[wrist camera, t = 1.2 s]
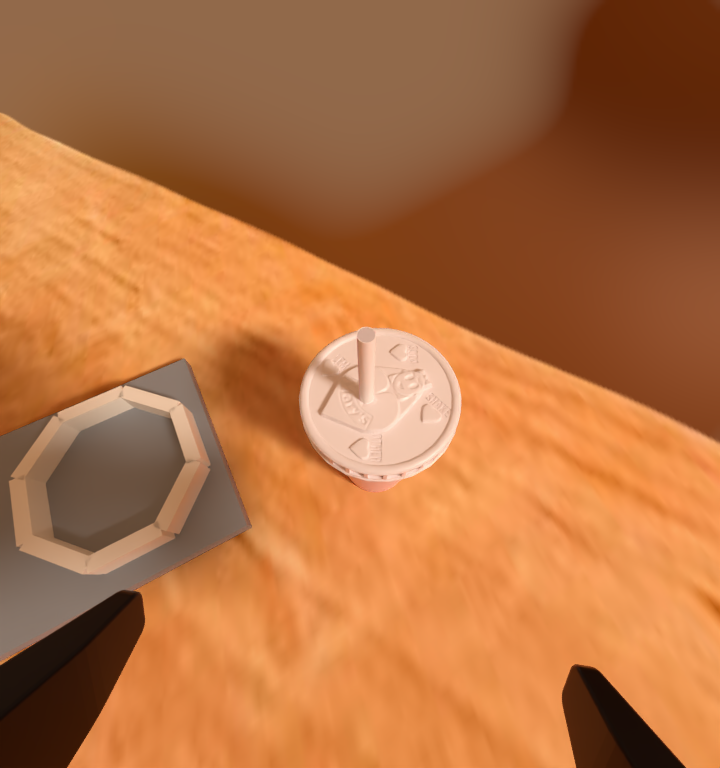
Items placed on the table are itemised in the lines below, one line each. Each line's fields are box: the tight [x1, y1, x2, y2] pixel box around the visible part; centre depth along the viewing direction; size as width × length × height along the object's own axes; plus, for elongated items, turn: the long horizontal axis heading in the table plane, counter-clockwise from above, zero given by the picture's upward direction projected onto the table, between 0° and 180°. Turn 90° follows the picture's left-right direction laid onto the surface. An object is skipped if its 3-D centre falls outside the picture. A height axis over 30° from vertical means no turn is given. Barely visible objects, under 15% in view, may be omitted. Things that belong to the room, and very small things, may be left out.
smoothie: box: [299, 327, 461, 492], centre depth 17 cm, size 6×6×14 cm
